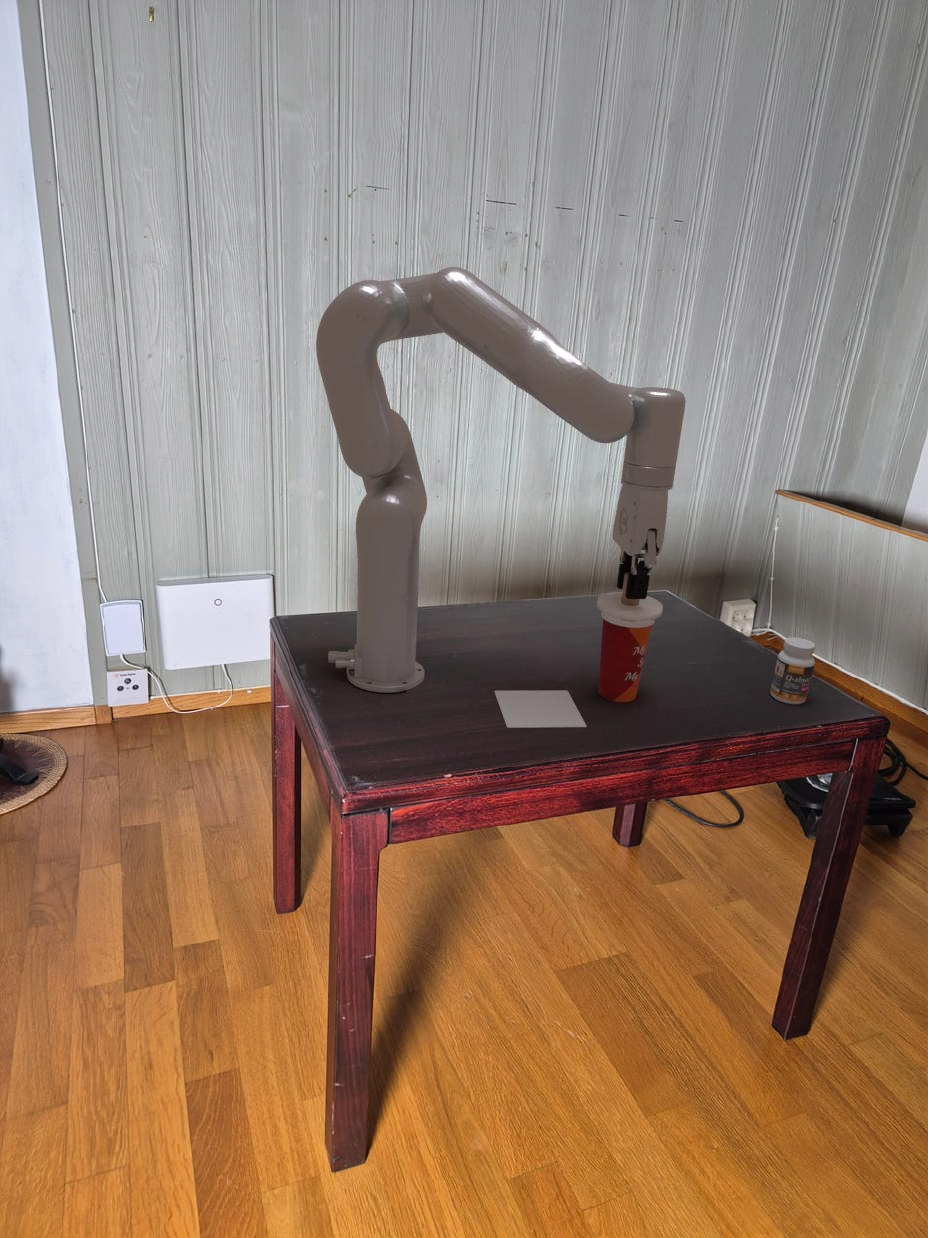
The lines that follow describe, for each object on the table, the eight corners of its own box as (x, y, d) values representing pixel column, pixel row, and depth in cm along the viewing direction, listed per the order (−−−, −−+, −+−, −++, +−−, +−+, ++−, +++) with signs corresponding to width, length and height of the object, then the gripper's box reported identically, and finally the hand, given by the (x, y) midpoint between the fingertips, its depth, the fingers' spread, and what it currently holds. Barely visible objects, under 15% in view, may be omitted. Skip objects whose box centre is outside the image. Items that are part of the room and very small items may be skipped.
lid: (607, 620, 125) (612, 585, 123) (589, 597, 134) (593, 564, 132) (671, 620, 126) (677, 586, 124) (648, 597, 136) (653, 565, 134)
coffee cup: (642, 710, 131) (656, 621, 126) (589, 703, 132) (601, 614, 127) (642, 688, 139) (655, 603, 133) (592, 681, 140) (603, 596, 135)
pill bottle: (783, 706, 135) (795, 650, 132) (762, 691, 141) (774, 636, 137) (813, 704, 137) (826, 648, 133) (791, 689, 142) (803, 634, 138)
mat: (507, 729, 123) (507, 727, 123) (494, 692, 134) (494, 690, 134) (586, 729, 124) (586, 726, 124) (567, 692, 135) (567, 690, 135)
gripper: (607, 463, 130) (593, 575, 136) (641, 487, 114) (623, 612, 121) (653, 464, 131) (637, 576, 137) (693, 489, 115) (673, 613, 122)
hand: (631, 592), depth 129 cm, fingers open, 3 cm apart
